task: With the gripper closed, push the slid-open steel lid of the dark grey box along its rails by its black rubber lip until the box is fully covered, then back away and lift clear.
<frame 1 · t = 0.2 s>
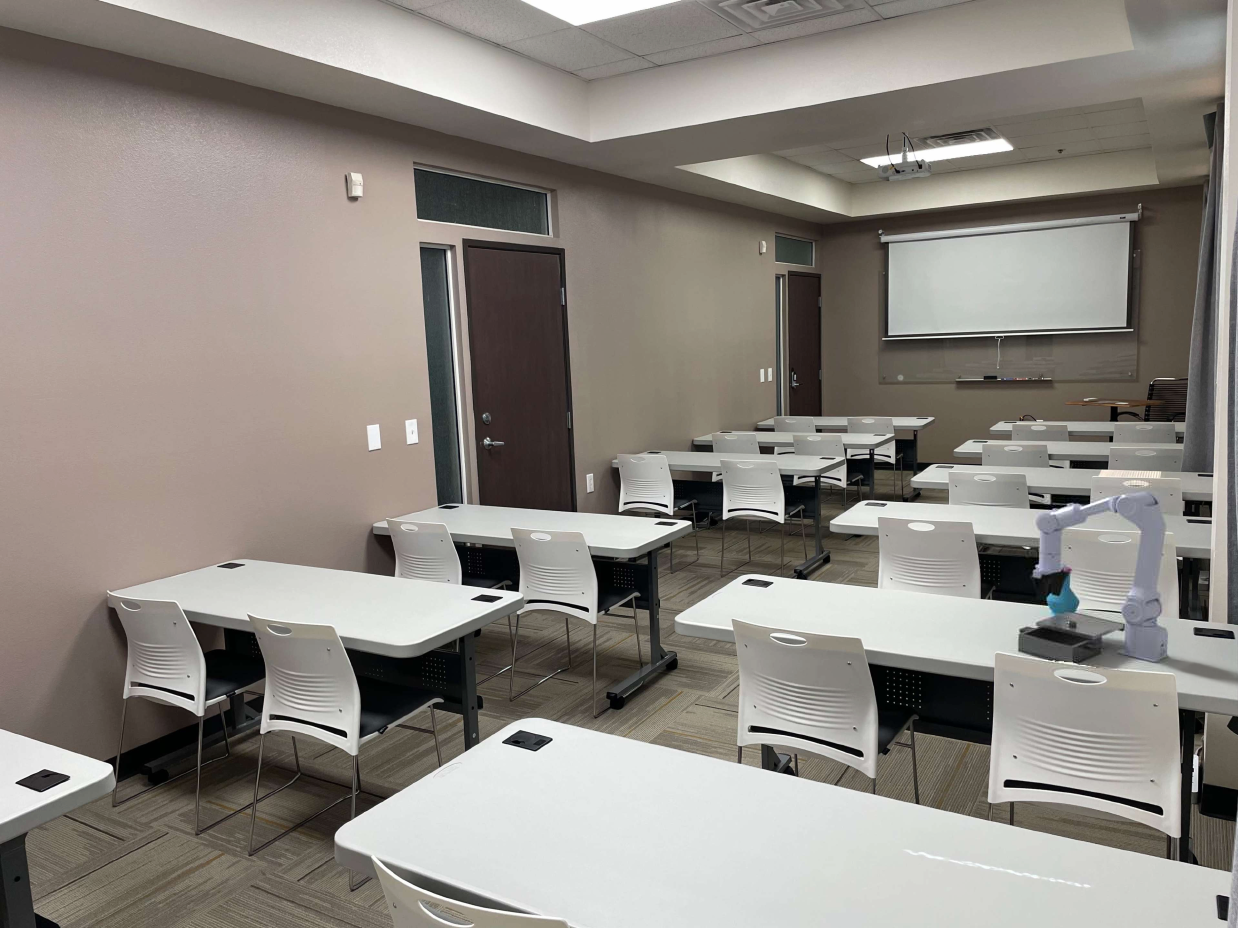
hand: (1049, 597, 254), 10 cm above the table, tool pointing down, fingers open, 7 cm apart
perfume bottle: (1062, 614, 270), on the table
dark grey box: (1059, 652, 236), on the table
cooker lid: (1080, 624, 241), point 6 cm above the table, slide at 10.0 cm
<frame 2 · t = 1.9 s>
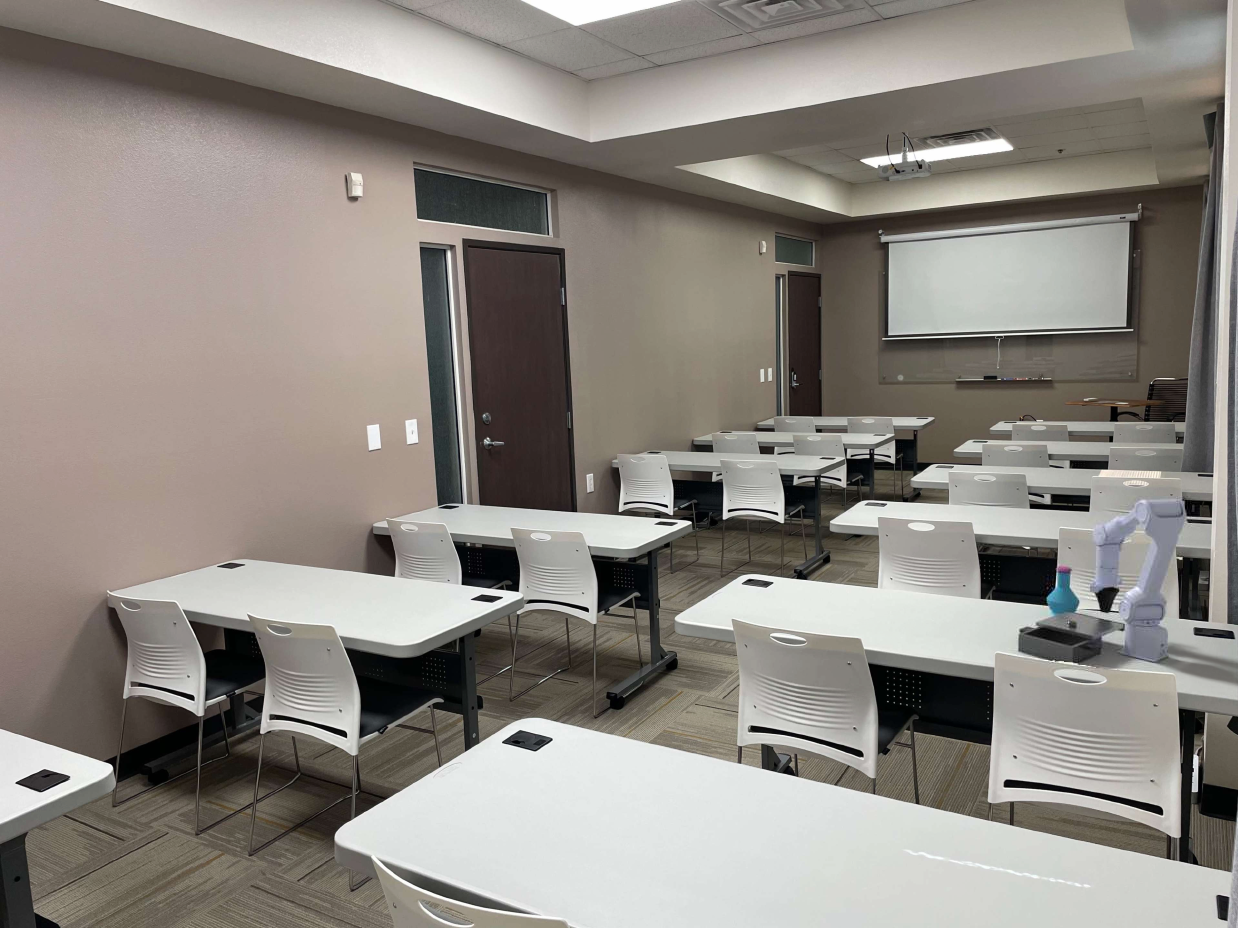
hand: (1105, 612, 249), 7 cm above the table, tool pointing down, fingers closed
nothing on the table moved.
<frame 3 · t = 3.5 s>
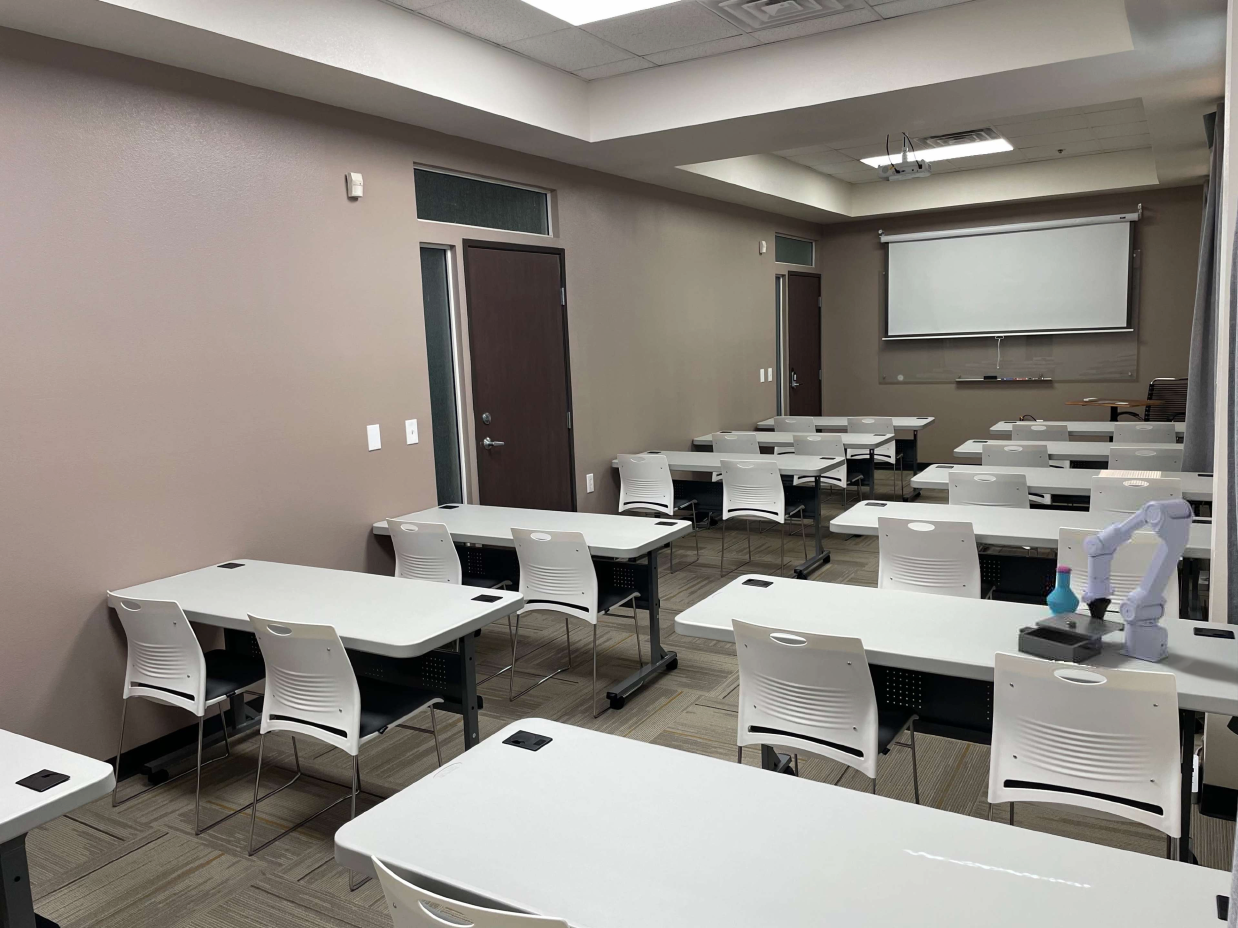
hand: (1097, 623, 247), 4 cm above the table, tool pointing down, fingers closed
cooker lid: (1079, 624, 241), point 6 cm above the table, slide at 9.8 cm, touching gripper
everything else where it was.
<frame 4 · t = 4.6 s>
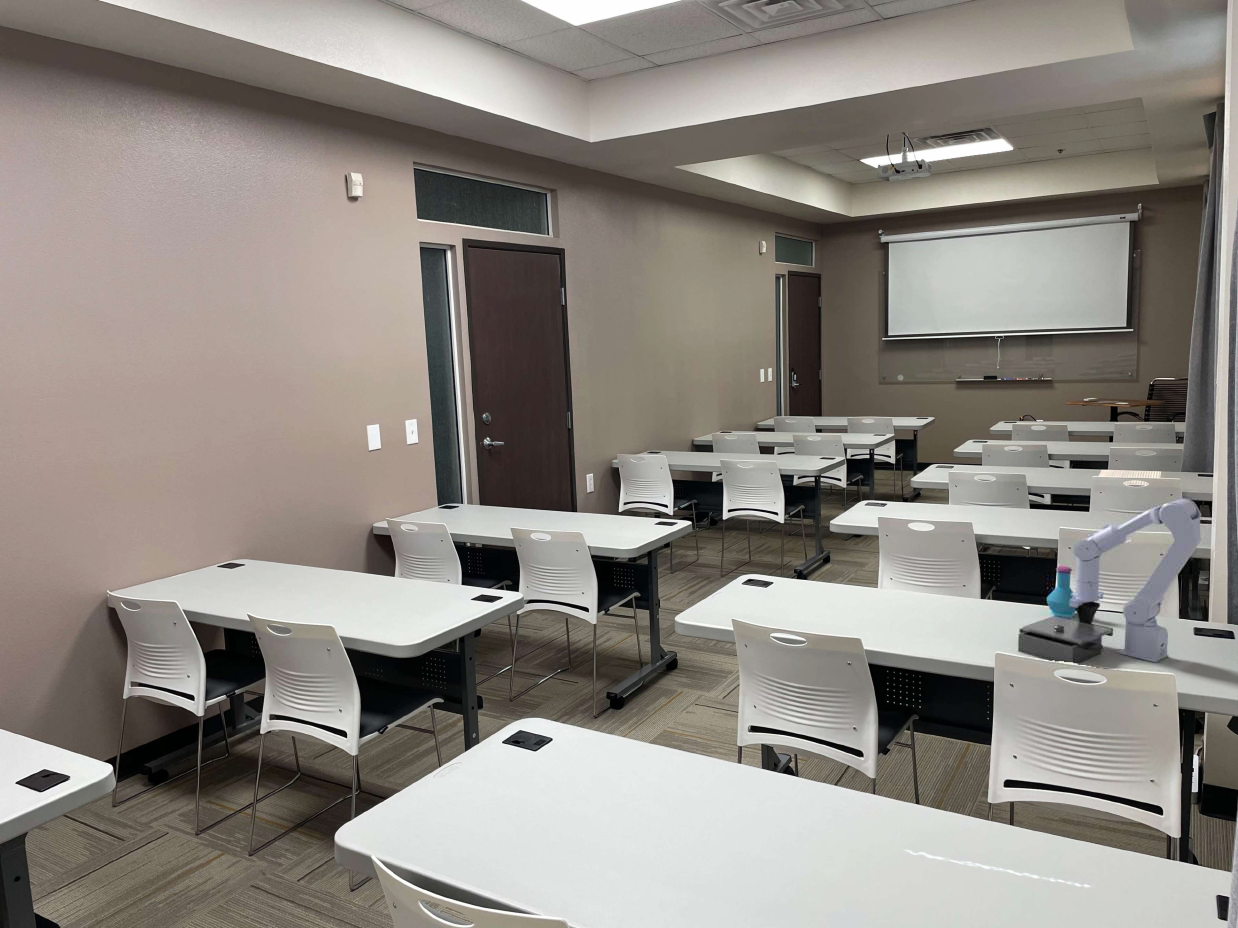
hand: (1085, 627, 243), 4 cm above the table, tool pointing down, fingers closed
cooker lid: (1067, 628, 238), point 6 cm above the table, slide at 3.4 cm, touching gripper
everything else where it was.
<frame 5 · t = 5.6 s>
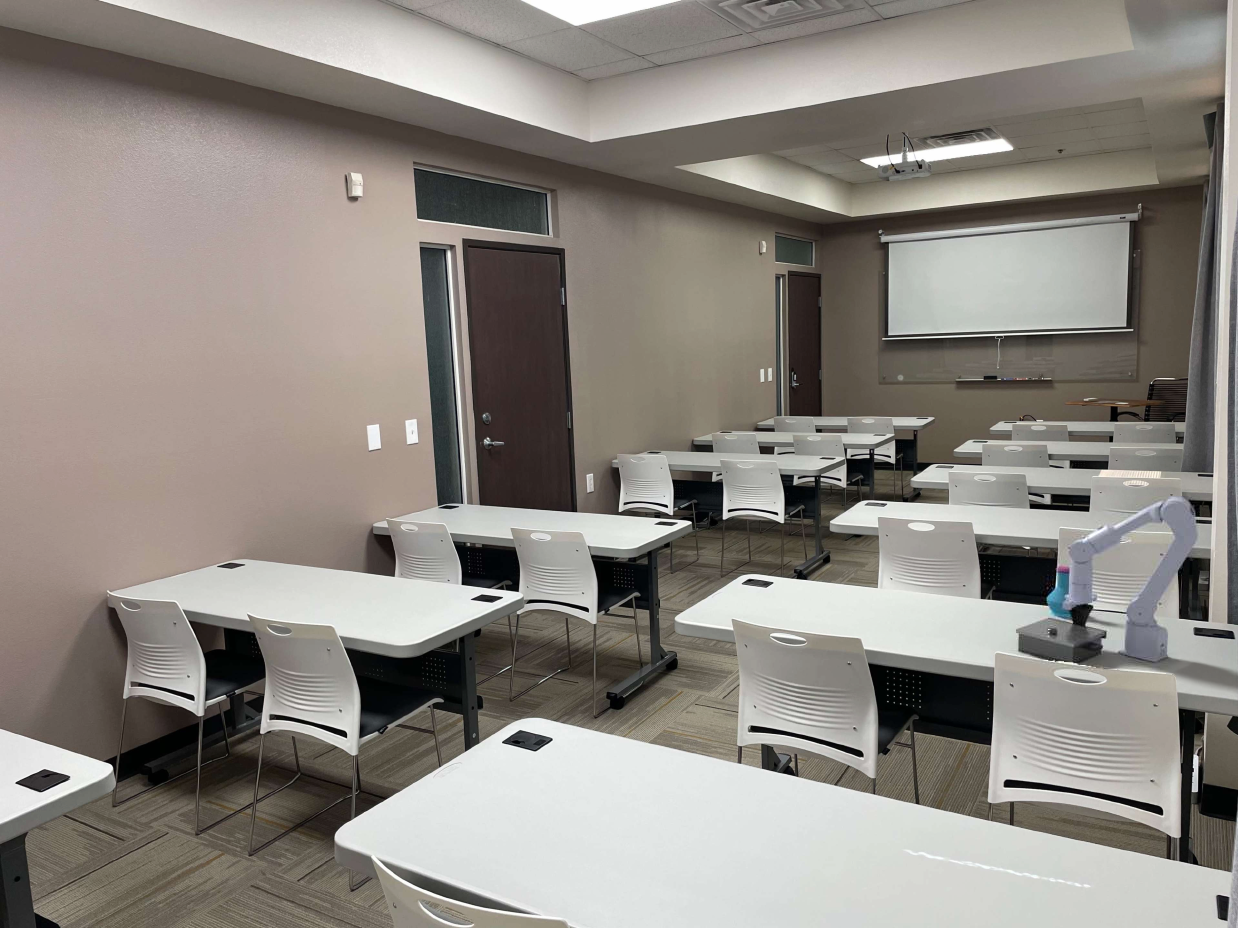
hand: (1079, 629, 241), 4 cm above the table, tool pointing down, fingers closed
cooker lid: (1060, 631, 236), point 6 cm above the table, slide at 0.0 cm, touching gripper
everything else where it was.
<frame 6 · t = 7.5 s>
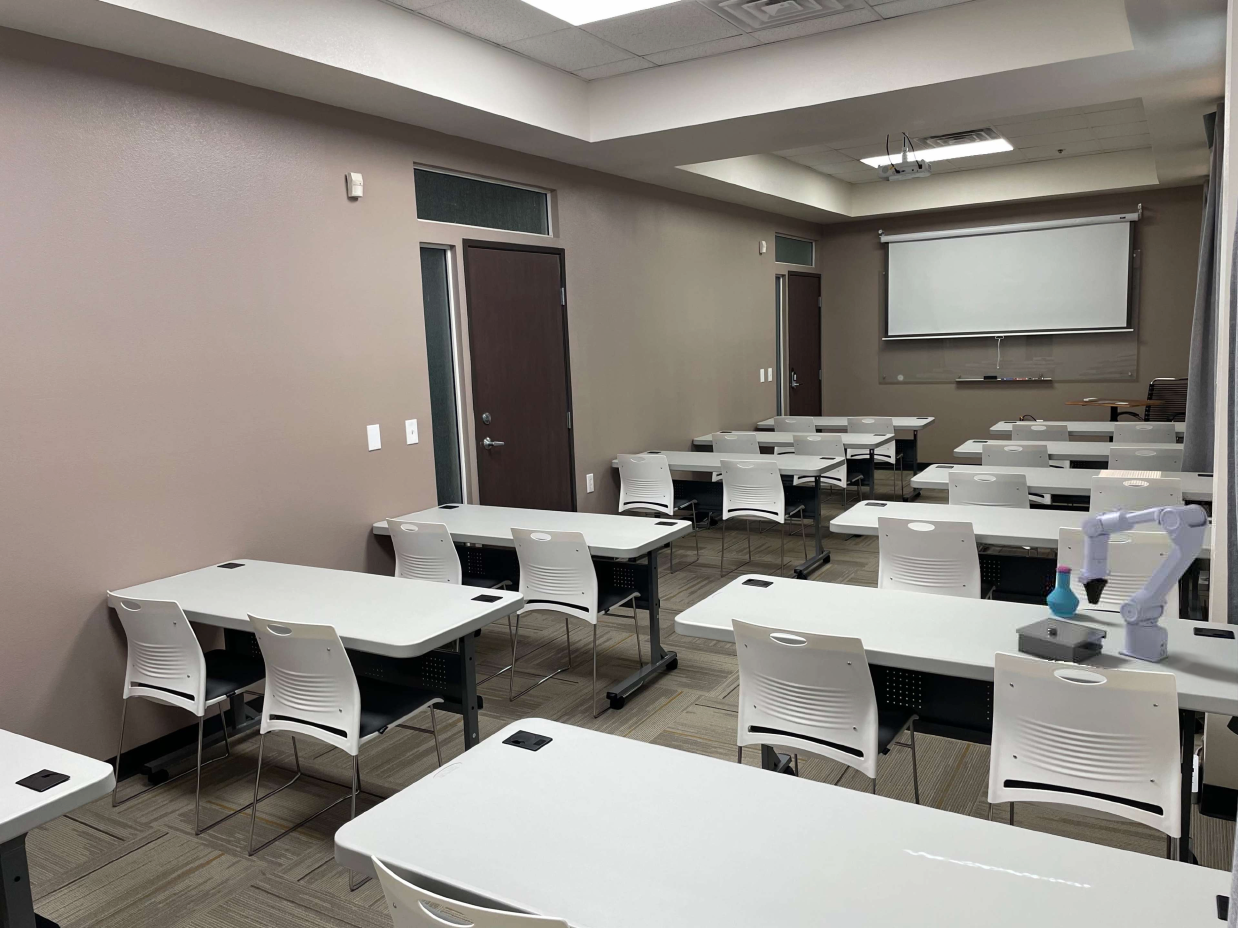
hand: (1093, 603, 245), 10 cm above the table, tool pointing down, fingers closed
cooker lid: (1060, 631, 236), point 6 cm above the table, slide at 0.0 cm
everything else where it was.
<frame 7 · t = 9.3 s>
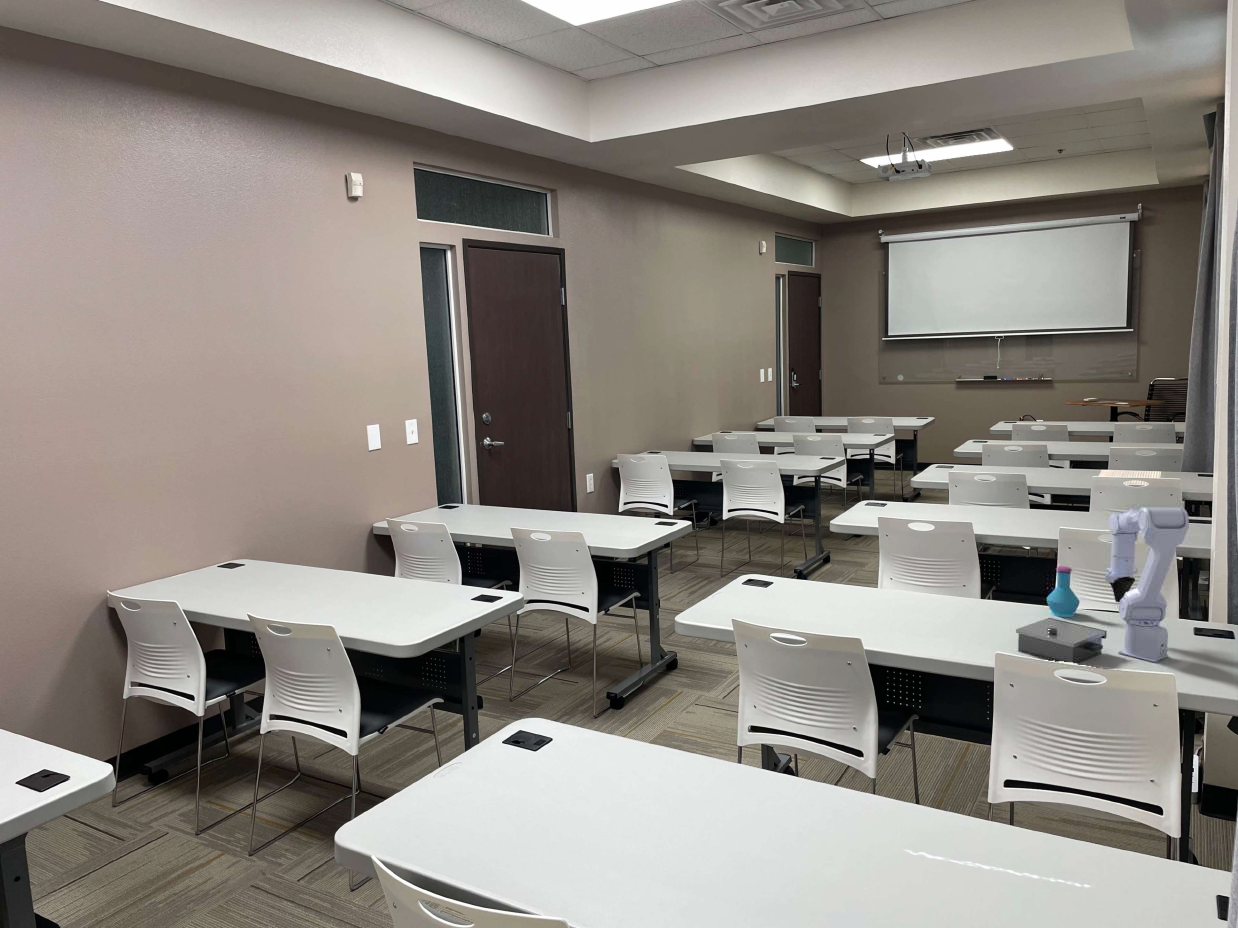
hand: (1120, 601, 246), 10 cm above the table, tool pointing down, fingers closed
nothing on the table moved.
at the end: cooker lid slide at 0.0 cm; perfume bottle moved 0.2 cm from its start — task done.
